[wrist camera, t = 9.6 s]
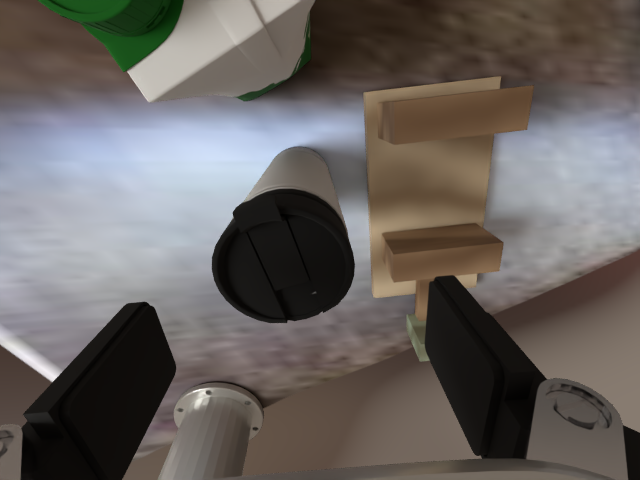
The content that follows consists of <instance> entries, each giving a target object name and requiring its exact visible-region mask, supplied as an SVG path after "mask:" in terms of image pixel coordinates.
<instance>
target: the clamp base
mask: <svg viewBox="0 0 640 480" xmlns="http://www.w3.org/2000/svg"><path fill="white" fill-rule="evenodd" d="M500 81H501V76H498V77H490V78H481V79H473V80H464V81H456V82H447V83H439V84H430V85H422V86H413V87H405V88H396V89H388V90H379V91H371V92H364V93H363V95H364V117H365V140H366V163H367V185H368V208H369V231H370V253H371V276H372V293H373V296H374V298H380V297H389V296H398V295H407V294H416V280H414V281H404V282H395V283H394V282H393V280H392V278H391V276H390V274H389V272H388V270H387V268H386V266H385V264H384V262H383V259H382V238H381V234H382V233H391V232H400V231H409V230H418V229H427V228H436V227H445V226H454V225H463V224H472V223H476V224H478V225H479V226H481V227H482V228H483V222H484V214H485V206H486V197H487V189H488V181H489V172H490V164H491V156H492V147H493V139H494V134H495V133H503V132H512V131H521V130H527V126H528V120H529V114H530V108H531V102H532V95H533V89H534V85H532V86H523V87H513V88H503V89H500ZM455 277H456V278H457V279H458V280H459V281H460V282H461V284H462V285H463V286H464V287H465V288H472V287H476V281H477V274H469V275H460V276H455Z"/></svg>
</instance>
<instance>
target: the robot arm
mask: <svg viewBox="0 0 640 480" xmlns="http://www.w3.org/2000/svg"><path fill="white" fill-rule="evenodd" d="M425 350H426V353H427V356H428V358H429V360H430V362H431V364H432V366H433V368H434V370H435V372H436V375H437V377H438V379H439V381H440V383H441V385H442V387H443V389H444V392H445V394H446V396H447V398H448V400H449V402H450V404H451V407H452V408H453V411H454V413H455V415H456V417H457V419H458V421H459V424H460V425H461V428H462V430H463V432H464V434H465V436H466V438H467V440H468V443H469V445H470V447H471V449H472V451H473V453H474V454H475V455H477V456H479V455H481V457H482V459H467V460H450V461H433V462H415V463H402V464H390V465H376V466H365V467H350V468H339V469H325V470H311V471H300V472H288V473H275V474H262V475H251V476H242V474H243V468H244V463H245V457H246V452H247V446H248V441H249V440H251V439H252V438H253V437H255V436H256V435H257V434H258V433H259V431H260V429H261V427H262V424H263V418H264V411H263V408H262V405H261V404H260V402H259V400H258V399H257V398H256V397H255V396H254V395H253V394H251V393H250V392H249V391H247V390H245V389H243V388H241V387H238V386H235V385H232V384H227V383H217V382H216V383H206V384H201V385H198V386H195V387H193V388H191V389H189V390H188V391H186V392H185V393H184V394H183V395H182V396H181V397H180V399H179V400H178V402H177V404H176V407H175V409H174V420H175V423H176V425H177V427H178V428H179V429H178V432H177V434H176V437H175V439H174V441H173V444H172V446H171V449H170V451H169V454H168V456H167V459H166V461H165V463H164V466H163V468H162V471H161V473H160V476H159V478H158V480H640V433H639V432H637V431H635V430H632V429H630V428H628V427H626V426H624V425H623V423H622V420H621V418H620V415H619V413H618V412H617V410H616V409H615V408H614V406H613V405H612V404H611V403H610V402H609V401H608V400H606V399H605V398H604V397H603V396H602V395H600V394H599V393H597V392H596V391H594V390H593V389H591V388H589V387H587V386H585V385H583V384H580V383H578V382H575V381H571V380H568V379H560V378H553V379H546V378H545V377H544V375H543V374H542V373H541V372H540V371H539V370H538V368H537V367H536V366H535V365H534V364H533V363H532V361H530V359H529V358H528V357H527V356H526V355H525V353H524V352H523V351H522V350H521V349H520V348H519V346H518V345H517V344H516V343H515V342H514V341H513V340H512V338H511V337H510V336H509V335H508V334H507V333H506V331H504V329H503V328H502V327H501V326H500V325H499V324H498V322H497V321H496V320H495V319H494V318H493V317H492V316H491V315H490V314H489V313H486V312H485V311H484V309H483V308H482V307H481V306H480V305H479V304H478V302H477V301H476V300H475V299H474V298H473V296H472V295H471V294H470V293H469V292H468V291H467V289H466V288H465V287H464V286H463V285H462V284H461V282H460V281H459V280H458V279H457V278H456V277H455V276H454V275H447V276H436V277H435V279H434V281H430V283H429V291H428V304H427V317H426V331H425ZM175 372H176V364H175V361H174V358H173V356H172V353H171V350H170V348H169V345H168V342H167V340H166V337H165V334H164V332H163V329H162V326H161V324H160V321H159V318H158V316H157V313H156V310H155V308H154V307H153V306H150V305H149V304H148V303H147V302H137V303H128V304H126V305H125V306H124V307H123V308H122V309H121V310H120V311H119V312H118V313H117V314H116V315H115V316H114V317H113V318H112V319H111V321H110V322H109V323H108V324H107V325H106V326H105V327H104V328H103V329H102V330H101V331H100V332H99V333H98V334H97V336H96V337H95V338H94V339H93V340H92V341H91V342H90V343H89V344H88V345H87V346H86V347H85V348H84V349H83V350H82V352H81V353H80V354H79V355H78V356H77V357H76V358H75V359H74V360H73V361H72V362H71V363H70V364H69V365H68V367H67V368H66V369H65V370H64V371H63V372H62V373H61V374H60V375H59V376H58V377H57V378H56V379H55V380H54V382H53V383H52V384H51V385H50V386H49V387H48V388H47V389H46V390H45V391H44V393H42V394H41V395H40V396H39V398H38V399H37V400H36V401H35V402H34V403H33V404H32V405H31V406H30V407H29V409H27V411H25V413H24V414H23V415H24V416H25V418H26V419H27V422H26V424H25V425H24V426H23V427H22V428H21V427H20V426H18V425H16V424H7V425H3V426H0V480H122V478H123V477H124V475H125V473H126V470H127V469H128V467H129V465H130V463H131V461H132V459H133V457H134V455H135V453H136V451H137V449H138V447H139V445H140V443H141V441H142V439H143V437H144V435H145V433H146V431H147V429H148V427H149V425H150V423H151V421H152V419H153V417H154V415H155V413H156V411H157V409H158V407H159V405H160V403H161V401H162V399H163V398H164V396H165V394H166V392H167V390H168V388H169V386H170V384H171V382H172V380H173V378H174V376H175Z"/></svg>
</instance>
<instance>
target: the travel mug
mask: <svg viewBox="0 0 640 480" xmlns="http://www.w3.org/2000/svg"><path fill="white" fill-rule="evenodd" d="M354 269H355V263H354V257H353V252H352V248H351V245H350V242H349V238H348V232H347V228H346V225H345V221H344V218H343V215H342V212H341V208H340V205H339V202H338V199H337V195H336V192H335V189H334V186H333V182H332V179H331V176H330V173H329V169H328V167H327V164H326V163H325V161H324V160H323V158H322V157H321V156H320V155H319V154H318V153H316V152H315V151H313V150H311V149H308V148H304V147H292V148H288V149H286V150H284V151H282V152H281V153H279V154H278V155H277V156H276V157H275V158H274V159H273V161H272V162H271V164H270V165H269V167H268V168H267V169H266V171H265V172H264V174H263V175H262V176H261V178H260V179H259V181H258V182H257V183H256V185H255V186H254V188H253V189H252V190H251V192H250V193H249V195H248V196H247V197H246V199H245V200H244V202H243V203H241V204H240V205H239V206H238V207H236V208H235V210H234V211H233V219H232V220H231V222H230V224H229V225H228V227H227V228H226V230H225V231H224V232H223V234H222V235H221V237H220V239H219V240H218V242H217V244H216V246H215V249H214V253H213V256H212V272H213V277H214V281H215V283H216V285H217V287H218V289H219V291H220V293H221V294H222V295H223V297H224V298H225V299H226V301H228V302H229V303H230V304H231V305H232V306H233V307H234V308H235V309H237V310H238V311H240V312H242V313H243V314H245V315H247V316H249V317H252V318H254V319H257V320H260V321H264V322H268V323H287V320H292V321H297V320H302V319H307V318H310V317H313V316H316V315H318V314H319V313H321V312H322V311H323V313H324V312H326V311H328V310H329V309H331V308H333V307H334V306H336V305H338V303H339V302H340V301H341V300H342V299H343V298H344V297H345V295H346V294H347V292H348V290H349V288H350V287H351V284H352V280H353V277H354Z"/></svg>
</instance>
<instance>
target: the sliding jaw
mask: <svg viewBox="0 0 640 480" xmlns="http://www.w3.org/2000/svg"><path fill="white" fill-rule="evenodd" d="M381 238H382V259H383V262H384V264H385V266H386V268H387V270H388V272H389V274H390V276H391V278H392V280H393V282H394V283H395V282H404V281H414V280H416V294H415V314H408V315H407V332H408V335H409V337H410V339H411V342H412V344H413V346H414V348H415V351H416V353H417V355H418V358H419V360H420V361H428V360H429V358H428V356H427V353H426V350H425V331H426V317H427V304H428V291H429V283H430V281H434V279H435V277H436V276H447V275H454V276H460V275H469V274H478V273H487V272H496V271H499V269H500V263H501V256H502V250H503V243H504V242H502V241H501V240H499V239H498V238H496V237H495V236H494V235H492V234H491V233H489V232H488V231H486V230H485V229H483V228H482V227H481V226H479V225H478V224H476V223H472V224H463V225H454V226H445V227H436V228H427V229H418V230H409V231H400V232H391V233H382V234H381Z"/></svg>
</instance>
